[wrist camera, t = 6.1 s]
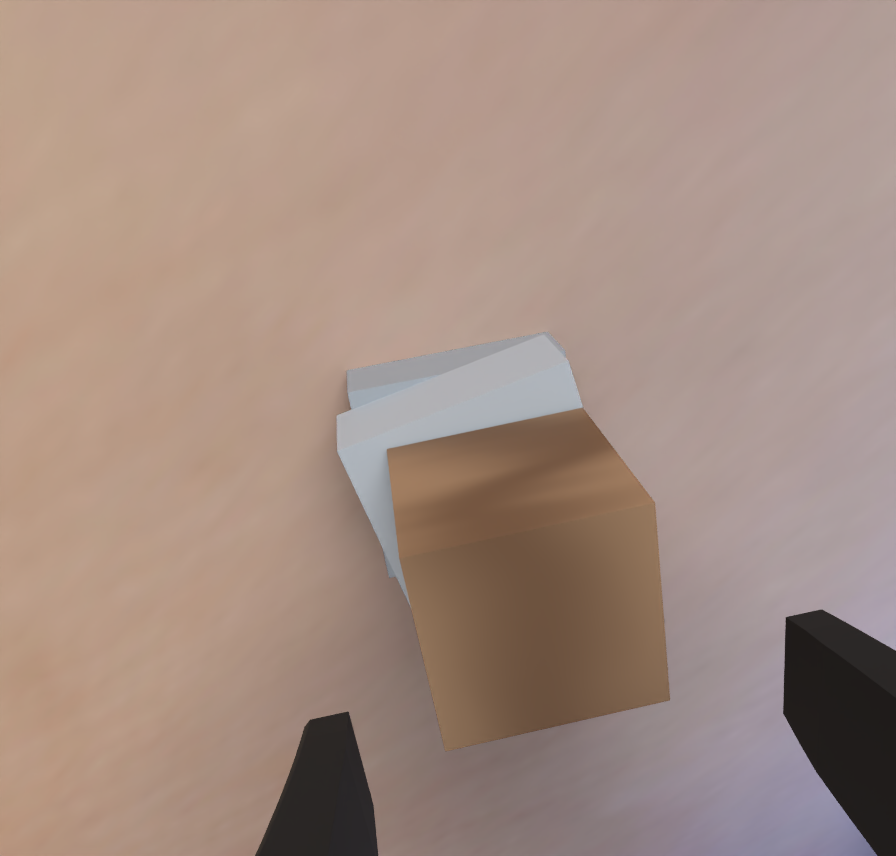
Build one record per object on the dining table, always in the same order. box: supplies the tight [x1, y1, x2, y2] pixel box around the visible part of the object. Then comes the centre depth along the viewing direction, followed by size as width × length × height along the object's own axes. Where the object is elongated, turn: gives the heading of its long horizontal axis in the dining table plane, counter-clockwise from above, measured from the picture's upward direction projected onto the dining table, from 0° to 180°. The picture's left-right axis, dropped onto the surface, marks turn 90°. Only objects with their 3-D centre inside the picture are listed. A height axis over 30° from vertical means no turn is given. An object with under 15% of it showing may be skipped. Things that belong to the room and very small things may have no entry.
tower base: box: [347, 332, 566, 578], centre depth 21 cm, size 6×6×2 cm
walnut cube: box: [387, 408, 670, 751], centre depth 16 cm, size 4×4×4 cm
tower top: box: [337, 334, 583, 607], centre depth 19 cm, size 6×6×2 cm
